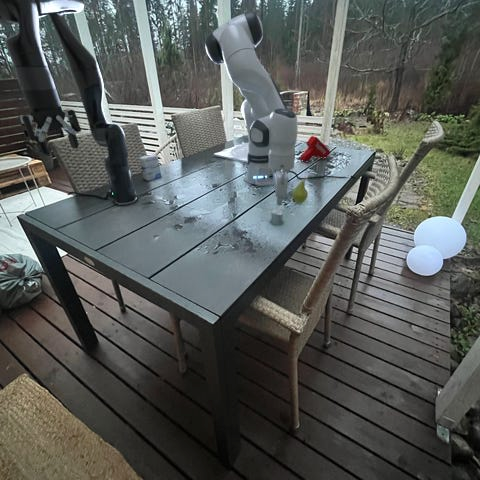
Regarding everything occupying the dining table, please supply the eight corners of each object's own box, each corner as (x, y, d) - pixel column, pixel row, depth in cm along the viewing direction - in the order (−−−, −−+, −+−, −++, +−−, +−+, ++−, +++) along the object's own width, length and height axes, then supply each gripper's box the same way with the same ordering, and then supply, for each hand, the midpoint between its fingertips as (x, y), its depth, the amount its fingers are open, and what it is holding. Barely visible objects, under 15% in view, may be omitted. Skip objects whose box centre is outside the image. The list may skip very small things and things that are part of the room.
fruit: (288, 200, 123) (290, 174, 116) (302, 197, 125) (305, 172, 119) (296, 206, 118) (299, 179, 111) (310, 203, 120) (314, 177, 114)
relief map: (256, 164, 167) (256, 156, 164) (213, 155, 185) (213, 147, 182) (278, 154, 185) (279, 147, 183) (238, 147, 203) (237, 140, 200)
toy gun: (301, 158, 166) (316, 136, 163) (297, 156, 169) (311, 135, 166) (317, 172, 178) (330, 152, 175) (312, 170, 181) (326, 150, 178)
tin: (276, 226, 104) (277, 216, 101) (269, 222, 106) (269, 212, 104) (284, 222, 106) (284, 212, 104) (276, 218, 109) (277, 209, 106)
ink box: (157, 175, 153) (153, 153, 146) (161, 177, 150) (158, 155, 143) (143, 178, 148) (138, 157, 141) (147, 181, 145) (143, 158, 138)
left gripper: (16, 89, 63) (44, 159, 72) (73, 86, 73) (91, 147, 82) (-1, 89, 66) (28, 156, 75) (57, 85, 76) (76, 144, 85)
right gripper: (293, 171, 84) (289, 211, 92) (288, 153, 101) (285, 188, 109) (273, 171, 85) (270, 211, 92) (271, 153, 102) (269, 188, 109)
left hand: (61, 151), depth 78 cm, fingers open, 8 cm apart
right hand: (278, 198), depth 101 cm, fingers open, 8 cm apart
